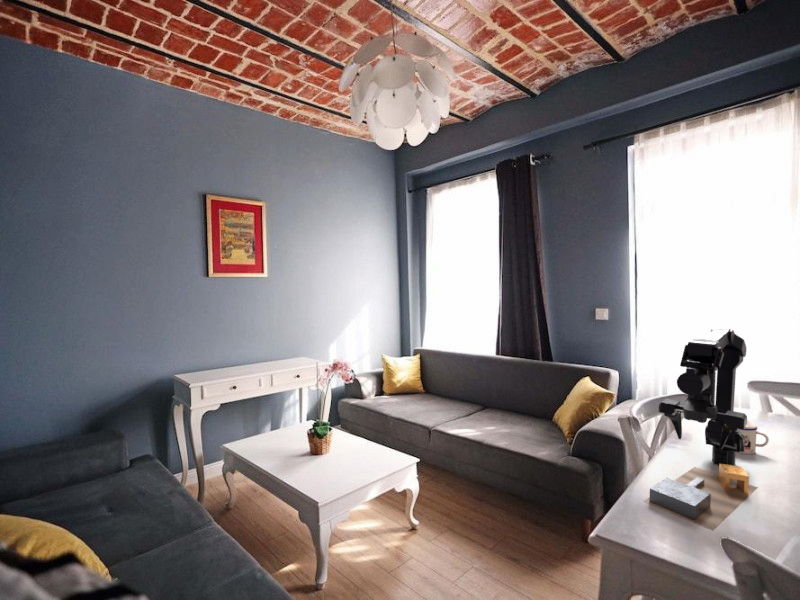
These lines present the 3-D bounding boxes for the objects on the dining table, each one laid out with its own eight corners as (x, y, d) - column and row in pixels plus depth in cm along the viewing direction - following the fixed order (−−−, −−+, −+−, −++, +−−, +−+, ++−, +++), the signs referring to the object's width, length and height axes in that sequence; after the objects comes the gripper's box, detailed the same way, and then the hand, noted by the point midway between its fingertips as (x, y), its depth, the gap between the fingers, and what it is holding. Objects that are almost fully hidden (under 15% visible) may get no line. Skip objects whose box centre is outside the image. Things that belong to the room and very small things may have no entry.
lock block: (718, 480, 117) (719, 463, 116) (740, 484, 115) (741, 466, 114) (725, 490, 111) (725, 472, 111) (748, 494, 109) (749, 476, 109)
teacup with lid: (720, 449, 141) (721, 415, 140) (724, 441, 147) (725, 409, 147) (766, 460, 132) (768, 424, 132) (769, 451, 139) (770, 417, 138)
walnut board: (694, 470, 125) (694, 466, 125) (757, 491, 113) (757, 487, 113) (643, 505, 106) (643, 501, 106) (712, 535, 94) (713, 530, 94)
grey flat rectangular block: (684, 477, 119) (685, 465, 118) (727, 492, 110) (727, 479, 110) (649, 501, 106) (649, 488, 106) (694, 520, 98) (695, 506, 98)
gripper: (653, 387, 112) (652, 442, 113) (741, 402, 98) (739, 465, 99) (665, 379, 120) (663, 431, 121) (748, 392, 106) (746, 450, 107)
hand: (699, 443), depth 112 cm, fingers open, 9 cm apart
